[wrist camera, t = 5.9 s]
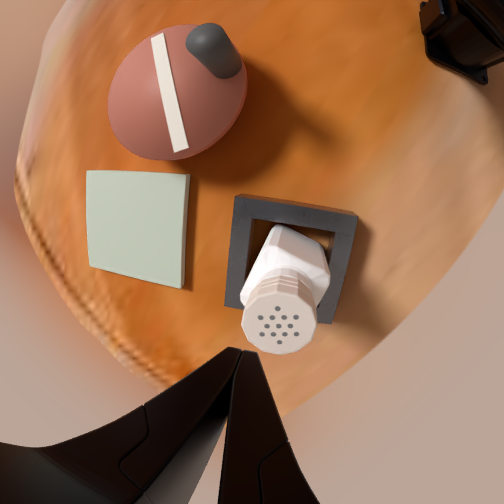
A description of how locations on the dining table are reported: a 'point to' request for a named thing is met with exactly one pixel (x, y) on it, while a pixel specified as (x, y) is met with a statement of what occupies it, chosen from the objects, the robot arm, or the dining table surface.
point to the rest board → (138, 224)
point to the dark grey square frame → (295, 214)
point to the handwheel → (177, 92)
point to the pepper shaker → (284, 292)
